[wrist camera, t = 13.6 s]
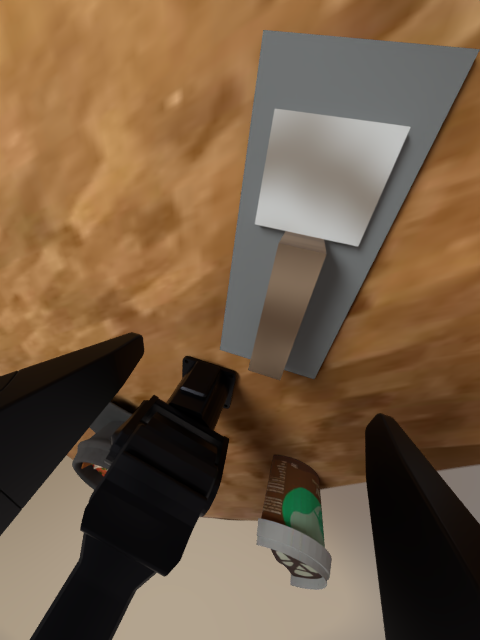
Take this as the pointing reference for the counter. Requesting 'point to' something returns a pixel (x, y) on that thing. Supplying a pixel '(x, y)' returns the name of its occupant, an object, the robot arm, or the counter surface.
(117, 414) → the casserole
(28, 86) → the counter surface
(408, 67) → the rest mat
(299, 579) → the food container
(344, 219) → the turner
